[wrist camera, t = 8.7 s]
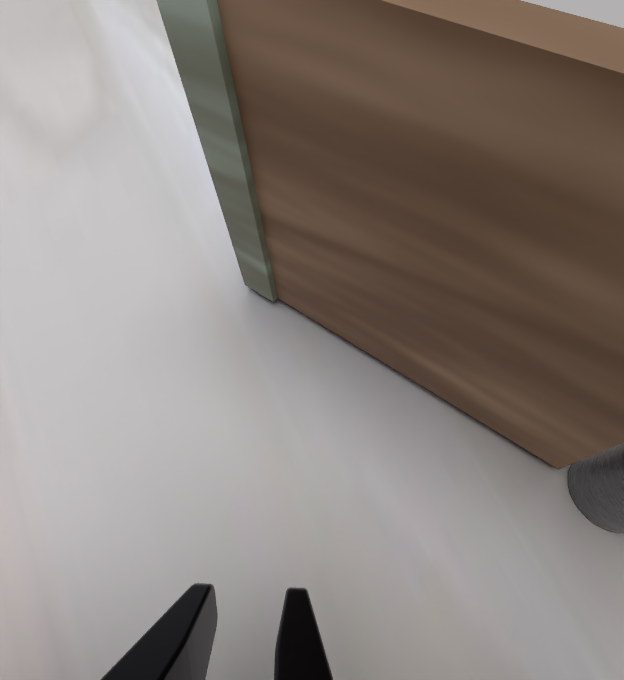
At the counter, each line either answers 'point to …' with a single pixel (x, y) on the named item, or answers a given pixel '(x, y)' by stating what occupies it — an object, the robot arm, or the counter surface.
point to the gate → (430, 192)
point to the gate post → (600, 488)
